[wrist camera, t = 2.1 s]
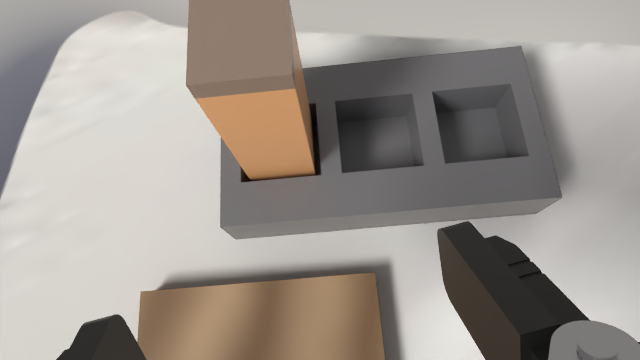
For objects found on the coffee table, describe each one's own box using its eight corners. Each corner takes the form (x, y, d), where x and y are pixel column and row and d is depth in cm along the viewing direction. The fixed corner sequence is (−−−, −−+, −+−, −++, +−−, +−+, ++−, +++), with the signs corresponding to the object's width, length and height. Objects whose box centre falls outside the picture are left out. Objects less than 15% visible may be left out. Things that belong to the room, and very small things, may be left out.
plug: (313, 130, 30) (287, -12, 17) (318, 185, 28) (292, 74, 16) (256, 136, 30) (189, -1, 17) (257, 190, 28) (185, 84, 16)
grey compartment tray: (502, 76, 30) (521, 46, 27) (536, 213, 27) (562, 197, 24) (235, 103, 31) (221, 76, 28) (235, 239, 28) (220, 227, 25)
